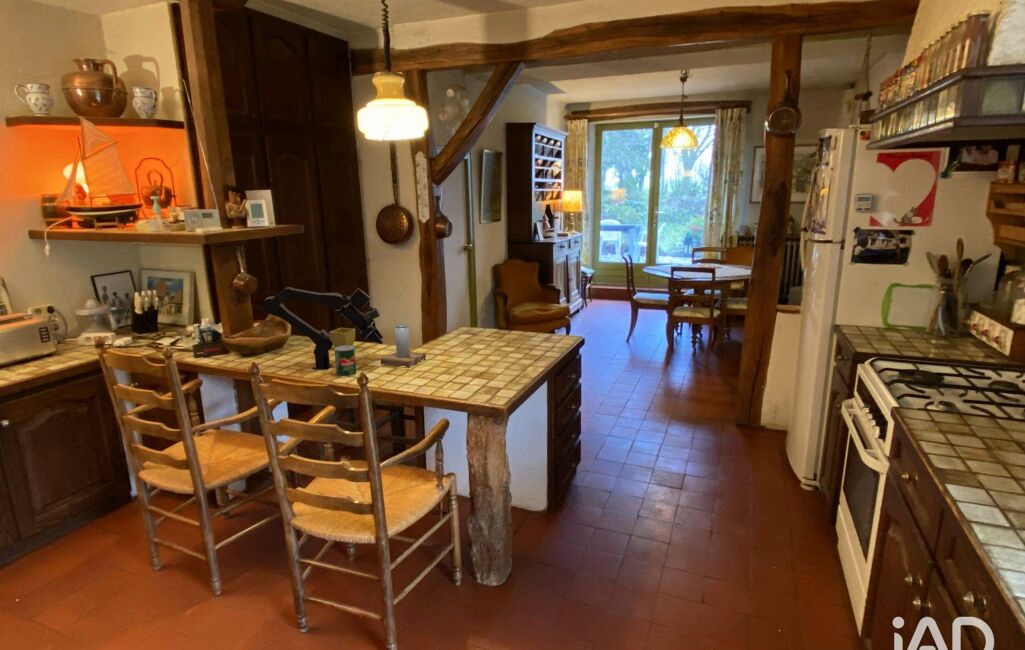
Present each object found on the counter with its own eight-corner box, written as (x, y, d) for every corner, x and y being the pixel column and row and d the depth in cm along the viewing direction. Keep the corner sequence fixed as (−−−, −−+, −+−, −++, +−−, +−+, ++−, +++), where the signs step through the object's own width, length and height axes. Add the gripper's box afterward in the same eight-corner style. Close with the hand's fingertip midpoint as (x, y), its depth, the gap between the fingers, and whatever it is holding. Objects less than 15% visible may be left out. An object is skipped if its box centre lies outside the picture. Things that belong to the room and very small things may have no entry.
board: (409, 368, 238) (409, 362, 238) (380, 364, 243) (380, 358, 243) (426, 359, 251) (425, 353, 251) (398, 356, 256) (398, 350, 256)
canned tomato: (346, 378, 226) (344, 351, 224) (331, 375, 230) (329, 348, 227) (360, 372, 233) (358, 346, 230) (346, 369, 236) (344, 344, 234)
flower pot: (346, 351, 264) (345, 333, 262) (330, 350, 266) (328, 331, 264) (357, 347, 272) (356, 328, 270) (341, 345, 275) (340, 327, 273)
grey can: (404, 358, 243) (402, 327, 240) (393, 357, 246) (392, 325, 243) (412, 355, 248) (411, 324, 245) (402, 353, 250) (400, 323, 247)
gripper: (367, 306, 230) (395, 332, 234) (368, 298, 247) (394, 322, 252) (347, 326, 230) (377, 351, 234) (350, 317, 247) (377, 340, 252)
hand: (382, 340), depth 243 cm, fingers open, 9 cm apart
